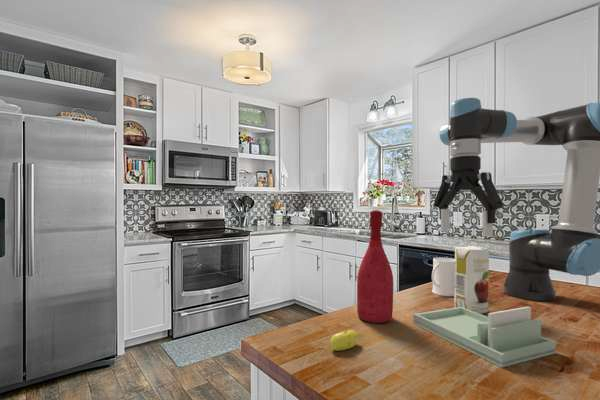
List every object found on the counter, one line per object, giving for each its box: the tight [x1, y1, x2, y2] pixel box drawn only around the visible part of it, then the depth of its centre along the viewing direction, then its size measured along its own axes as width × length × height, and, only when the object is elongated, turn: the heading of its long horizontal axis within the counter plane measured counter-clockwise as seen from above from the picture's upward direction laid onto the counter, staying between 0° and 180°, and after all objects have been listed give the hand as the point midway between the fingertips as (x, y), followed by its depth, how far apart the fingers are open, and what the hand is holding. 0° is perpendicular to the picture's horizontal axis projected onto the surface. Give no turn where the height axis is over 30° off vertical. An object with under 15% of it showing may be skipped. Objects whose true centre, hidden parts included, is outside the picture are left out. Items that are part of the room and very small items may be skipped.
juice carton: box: [453, 245, 490, 314], centre depth 100 cm, size 8×9×19 cm
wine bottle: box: [356, 209, 394, 324], centre depth 92 cm, size 10×10×30 cm
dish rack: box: [413, 306, 557, 368], centre depth 81 cm, size 17×25×9 cm
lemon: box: [329, 329, 360, 352], centre depth 74 cm, size 4×8×4 cm, turn 124°
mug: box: [431, 257, 455, 297], centre depth 118 cm, size 12×8×12 cm
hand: (465, 233), depth 92 cm, fingers open, 13 cm apart
